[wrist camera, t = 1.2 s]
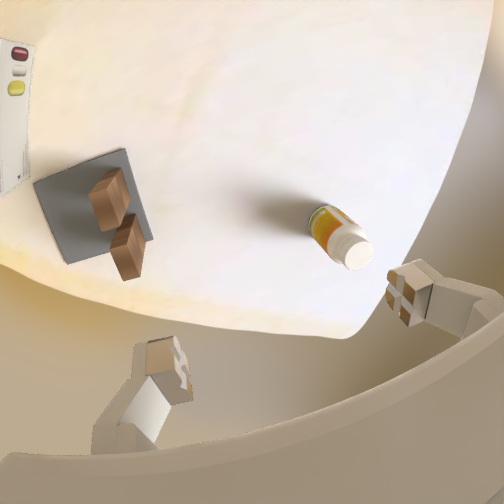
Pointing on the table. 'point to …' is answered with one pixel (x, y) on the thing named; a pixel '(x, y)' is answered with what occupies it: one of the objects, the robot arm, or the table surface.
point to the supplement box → (14, 112)
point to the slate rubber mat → (85, 206)
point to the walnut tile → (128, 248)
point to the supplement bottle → (340, 237)
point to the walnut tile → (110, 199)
